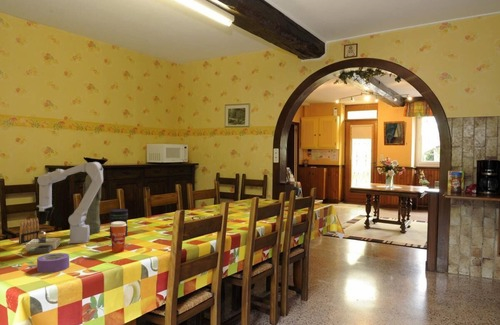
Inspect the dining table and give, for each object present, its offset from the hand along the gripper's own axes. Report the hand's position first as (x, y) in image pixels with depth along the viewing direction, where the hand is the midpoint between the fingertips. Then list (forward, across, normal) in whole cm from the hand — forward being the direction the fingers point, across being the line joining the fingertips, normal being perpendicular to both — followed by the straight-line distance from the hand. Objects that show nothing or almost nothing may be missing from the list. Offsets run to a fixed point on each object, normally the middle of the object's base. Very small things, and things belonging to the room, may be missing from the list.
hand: (45, 222), depth 191 cm
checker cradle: (+10, +20, +3) cm, 22 cm away
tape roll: (+11, +47, +16) cm, 50 cm away
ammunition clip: (+11, -3, -8) cm, 14 cm away
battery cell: (+9, +13, +2) cm, 16 cm away
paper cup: (+11, +25, +39) cm, 48 cm away
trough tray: (+10, +10, +2) cm, 15 cm away
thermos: (+11, -19, +20) cm, 30 cm away
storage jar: (+11, -8, +36) cm, 38 cm away
